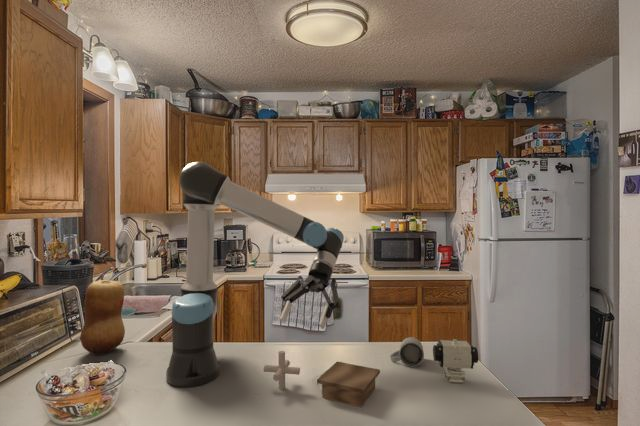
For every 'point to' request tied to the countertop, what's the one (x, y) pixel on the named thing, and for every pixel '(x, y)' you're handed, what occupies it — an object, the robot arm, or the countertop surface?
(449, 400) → the countertop surface
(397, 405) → the countertop surface
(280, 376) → the pipe connector
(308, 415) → the countertop surface
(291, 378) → the countertop surface
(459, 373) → the pneumatic valve
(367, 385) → the walnut stand
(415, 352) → the ceramic mug
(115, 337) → the butternut squash
